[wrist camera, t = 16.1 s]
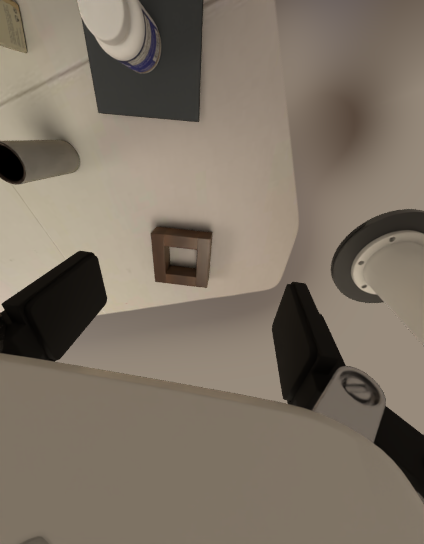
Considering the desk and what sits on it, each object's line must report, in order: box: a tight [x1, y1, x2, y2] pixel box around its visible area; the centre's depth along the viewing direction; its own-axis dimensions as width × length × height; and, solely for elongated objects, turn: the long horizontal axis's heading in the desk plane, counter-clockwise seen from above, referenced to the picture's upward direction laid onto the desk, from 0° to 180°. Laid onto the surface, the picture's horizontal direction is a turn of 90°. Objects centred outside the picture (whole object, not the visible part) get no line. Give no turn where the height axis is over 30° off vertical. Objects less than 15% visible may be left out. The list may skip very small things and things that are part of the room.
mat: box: [82, 0, 203, 122], centre depth 25 cm, size 14×14×1 cm
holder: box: [151, 226, 212, 288], centre depth 39 cm, size 10×10×3 cm
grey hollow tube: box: [0, 140, 80, 184], centre depth 29 cm, size 4×4×10 cm
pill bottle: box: [77, 0, 161, 73], centre depth 21 cm, size 5×5×9 cm
